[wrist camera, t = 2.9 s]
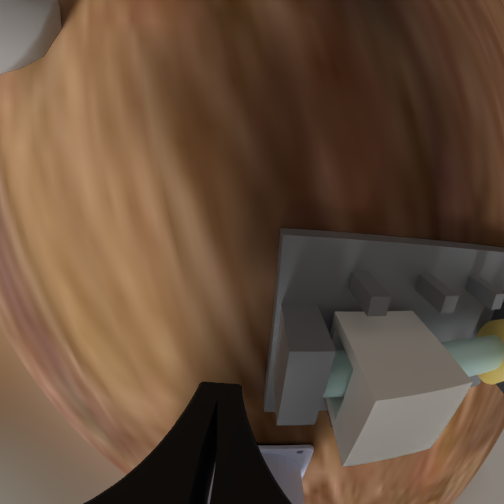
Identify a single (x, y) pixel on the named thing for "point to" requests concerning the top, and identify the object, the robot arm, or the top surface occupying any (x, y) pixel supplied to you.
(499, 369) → the yellow round puck
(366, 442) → the sleeve
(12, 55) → the salt shaker
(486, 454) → the top surface
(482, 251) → the rod slider bracket
